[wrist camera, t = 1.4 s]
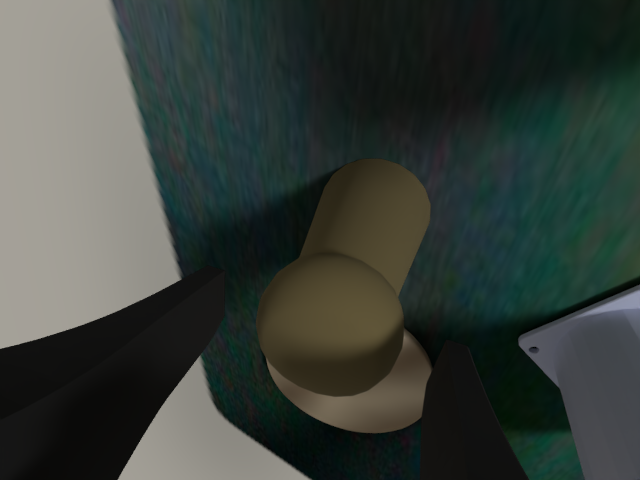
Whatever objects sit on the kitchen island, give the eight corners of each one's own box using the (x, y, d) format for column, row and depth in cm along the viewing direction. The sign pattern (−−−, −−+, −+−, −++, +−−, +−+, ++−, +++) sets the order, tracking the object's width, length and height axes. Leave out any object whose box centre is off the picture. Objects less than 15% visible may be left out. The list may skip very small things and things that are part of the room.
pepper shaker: (422, 149, 19) (393, 278, 10) (437, 254, 22) (425, 432, 13) (308, 167, 21) (201, 287, 12) (334, 261, 24) (261, 417, 15)
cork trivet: (472, 393, 26) (472, 404, 25) (347, 439, 33) (345, 448, 32) (348, 271, 24) (345, 279, 23) (241, 346, 31) (236, 353, 30)
